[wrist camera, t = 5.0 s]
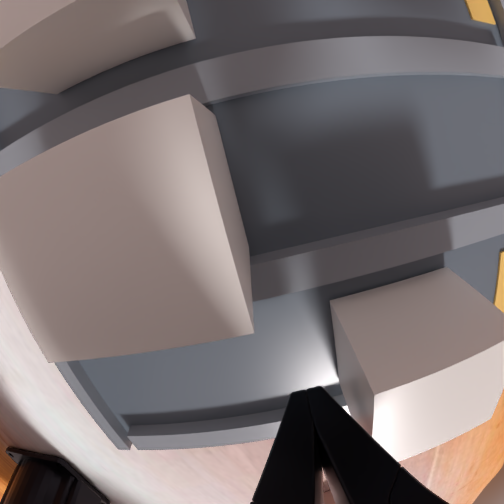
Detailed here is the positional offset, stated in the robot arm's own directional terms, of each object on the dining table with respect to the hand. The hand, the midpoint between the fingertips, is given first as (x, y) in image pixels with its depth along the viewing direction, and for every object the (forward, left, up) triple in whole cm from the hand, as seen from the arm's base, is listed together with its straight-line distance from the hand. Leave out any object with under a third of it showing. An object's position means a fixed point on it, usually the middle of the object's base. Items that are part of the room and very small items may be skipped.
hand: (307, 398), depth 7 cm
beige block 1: (-3, +11, -2) cm, 11 cm away
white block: (+3, 0, -2) cm, 4 cm away
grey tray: (+1, +5, -3) cm, 6 cm away
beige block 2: (-3, +5, -2) cm, 6 cm away
